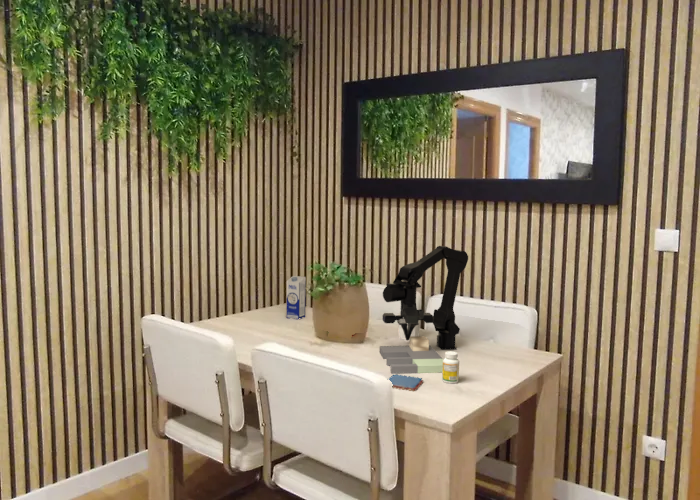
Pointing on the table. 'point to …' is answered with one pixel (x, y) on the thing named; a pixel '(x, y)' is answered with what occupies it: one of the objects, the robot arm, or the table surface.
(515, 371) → the table surface
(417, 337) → the maple block
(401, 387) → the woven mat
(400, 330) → the cup
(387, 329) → the table surface
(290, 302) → the milk carton
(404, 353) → the board
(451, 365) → the supplement bottle
